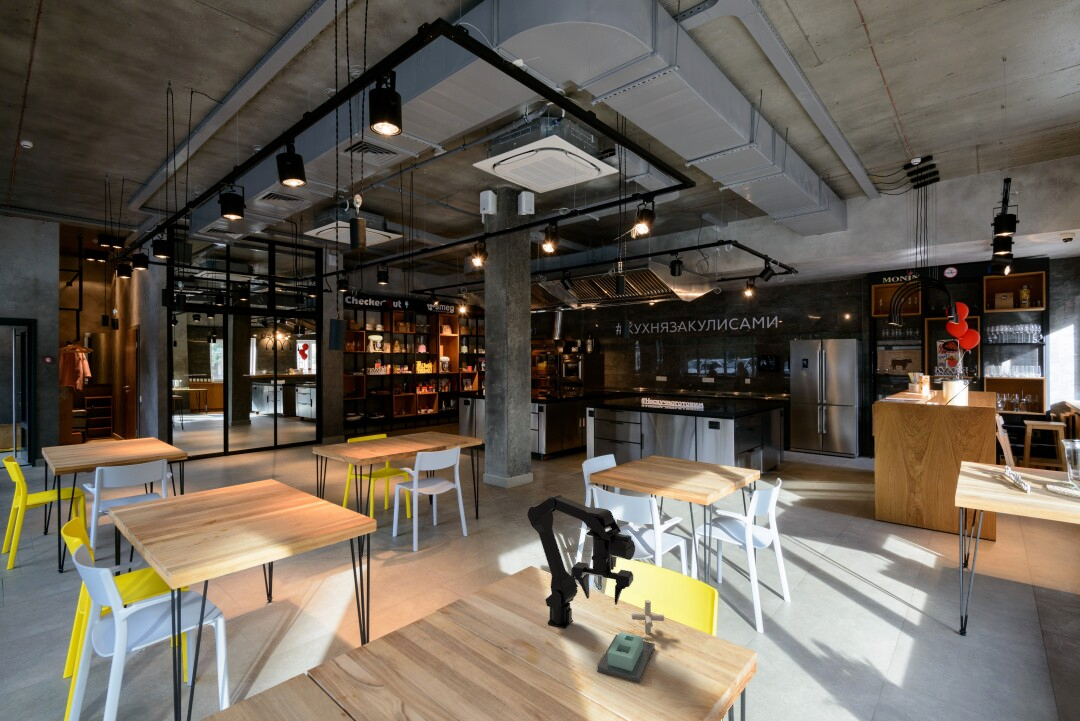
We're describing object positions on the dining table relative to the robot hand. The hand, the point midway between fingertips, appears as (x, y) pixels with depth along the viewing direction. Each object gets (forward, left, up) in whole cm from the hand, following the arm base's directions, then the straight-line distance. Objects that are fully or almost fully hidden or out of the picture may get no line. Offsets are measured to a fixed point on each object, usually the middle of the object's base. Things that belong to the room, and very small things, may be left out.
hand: (601, 601), depth 159 cm
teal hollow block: (+10, -8, -10) cm, 17 cm away
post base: (+10, -7, -12) cm, 17 cm away
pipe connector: (+12, +10, -12) cm, 20 cm away
